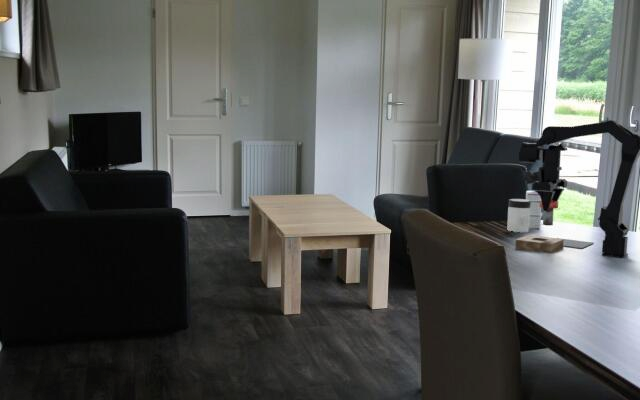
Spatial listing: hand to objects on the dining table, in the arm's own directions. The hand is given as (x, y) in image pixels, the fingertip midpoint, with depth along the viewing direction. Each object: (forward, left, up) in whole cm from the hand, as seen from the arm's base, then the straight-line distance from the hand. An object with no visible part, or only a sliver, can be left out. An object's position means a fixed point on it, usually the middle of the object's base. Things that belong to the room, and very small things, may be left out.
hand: (548, 209), depth 233 cm
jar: (+20, -26, -13) cm, 35 cm away
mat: (-4, -12, -13) cm, 18 cm away
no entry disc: (0, 0, -5) cm, 5 cm away
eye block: (+1, +3, -13) cm, 13 cm away
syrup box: (+19, -38, -13) cm, 44 cm away
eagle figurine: (+24, -48, -13) cm, 55 cm away
